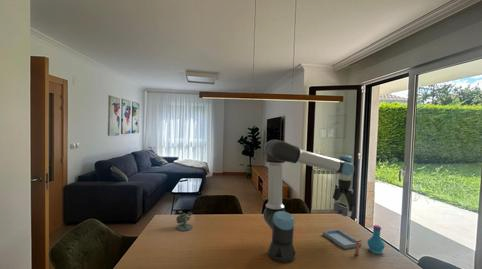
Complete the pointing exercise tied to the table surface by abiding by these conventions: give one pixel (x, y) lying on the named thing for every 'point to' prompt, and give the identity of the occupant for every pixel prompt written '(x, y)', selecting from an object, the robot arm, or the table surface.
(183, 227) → the figurine
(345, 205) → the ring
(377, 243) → the perfume bottle
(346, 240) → the tray
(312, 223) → the table surface
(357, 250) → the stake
